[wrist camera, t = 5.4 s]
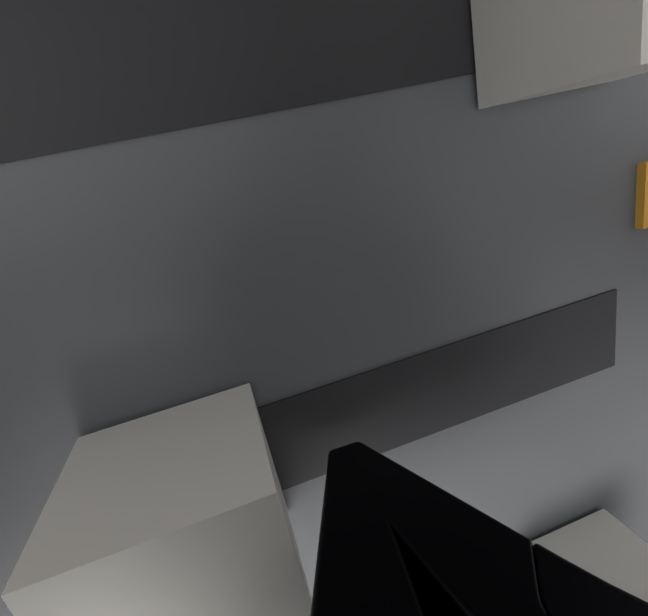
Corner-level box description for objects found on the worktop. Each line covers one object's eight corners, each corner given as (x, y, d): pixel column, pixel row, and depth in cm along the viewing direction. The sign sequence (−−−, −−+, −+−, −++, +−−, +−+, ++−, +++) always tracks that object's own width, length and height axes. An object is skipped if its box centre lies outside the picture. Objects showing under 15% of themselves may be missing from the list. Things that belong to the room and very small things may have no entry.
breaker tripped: (289, 514, 9) (329, 665, 6) (142, 571, 8) (112, 768, 5) (249, 382, 8) (276, 492, 5) (78, 437, 7) (1, 595, 4)
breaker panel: (616, 552, 16) (740, 662, 12) (164, 772, 13) (149, 1012, 9) (643, -214, 9) (963, -502, 5) (-386, -172, 5) (-1606, -915, 2)
